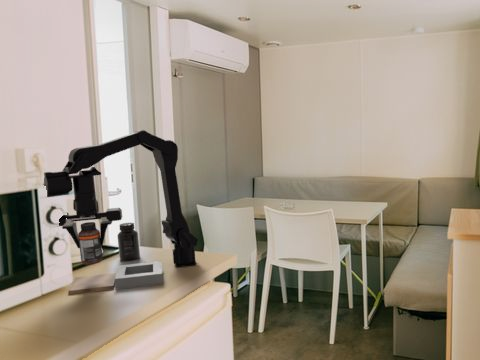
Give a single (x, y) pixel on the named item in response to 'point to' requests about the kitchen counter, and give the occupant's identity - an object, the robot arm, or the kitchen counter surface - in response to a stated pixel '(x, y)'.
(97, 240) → the supplement bottle
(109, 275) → the walnut board
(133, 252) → the supplement bottle
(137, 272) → the block
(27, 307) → the kitchen counter surface
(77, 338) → the kitchen counter surface
